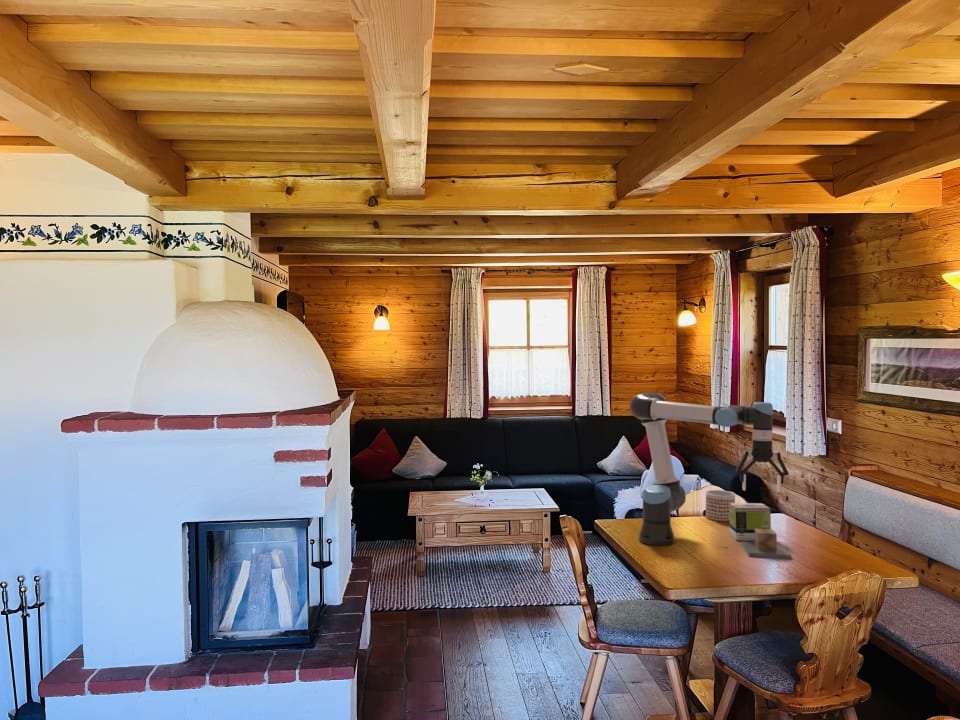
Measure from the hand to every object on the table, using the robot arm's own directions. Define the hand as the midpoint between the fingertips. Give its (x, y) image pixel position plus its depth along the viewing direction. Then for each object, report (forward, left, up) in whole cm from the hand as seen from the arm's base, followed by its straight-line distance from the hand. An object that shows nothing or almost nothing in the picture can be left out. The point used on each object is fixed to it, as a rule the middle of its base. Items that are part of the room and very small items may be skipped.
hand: (761, 490), depth 270 cm
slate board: (+2, -1, -25) cm, 25 cm away
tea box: (0, +19, -25) cm, 32 cm away
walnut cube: (+2, -1, -24) cm, 24 cm away
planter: (-7, +53, -25) cm, 60 cm away
